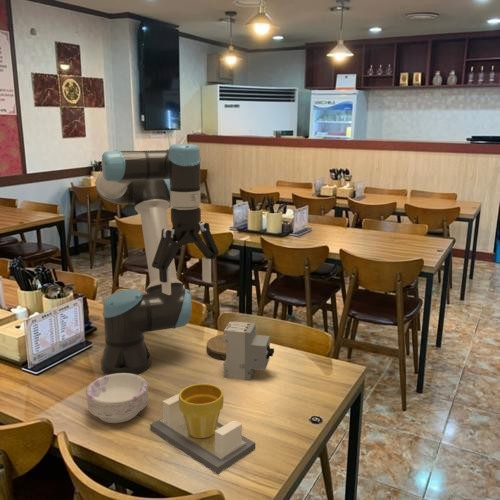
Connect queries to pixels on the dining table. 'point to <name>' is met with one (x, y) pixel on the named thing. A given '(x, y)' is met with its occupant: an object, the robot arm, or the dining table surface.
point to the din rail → (202, 443)
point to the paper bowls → (117, 397)
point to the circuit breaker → (245, 350)
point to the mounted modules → (224, 436)
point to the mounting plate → (198, 452)
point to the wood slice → (216, 348)
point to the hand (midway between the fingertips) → (187, 287)
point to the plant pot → (201, 408)
